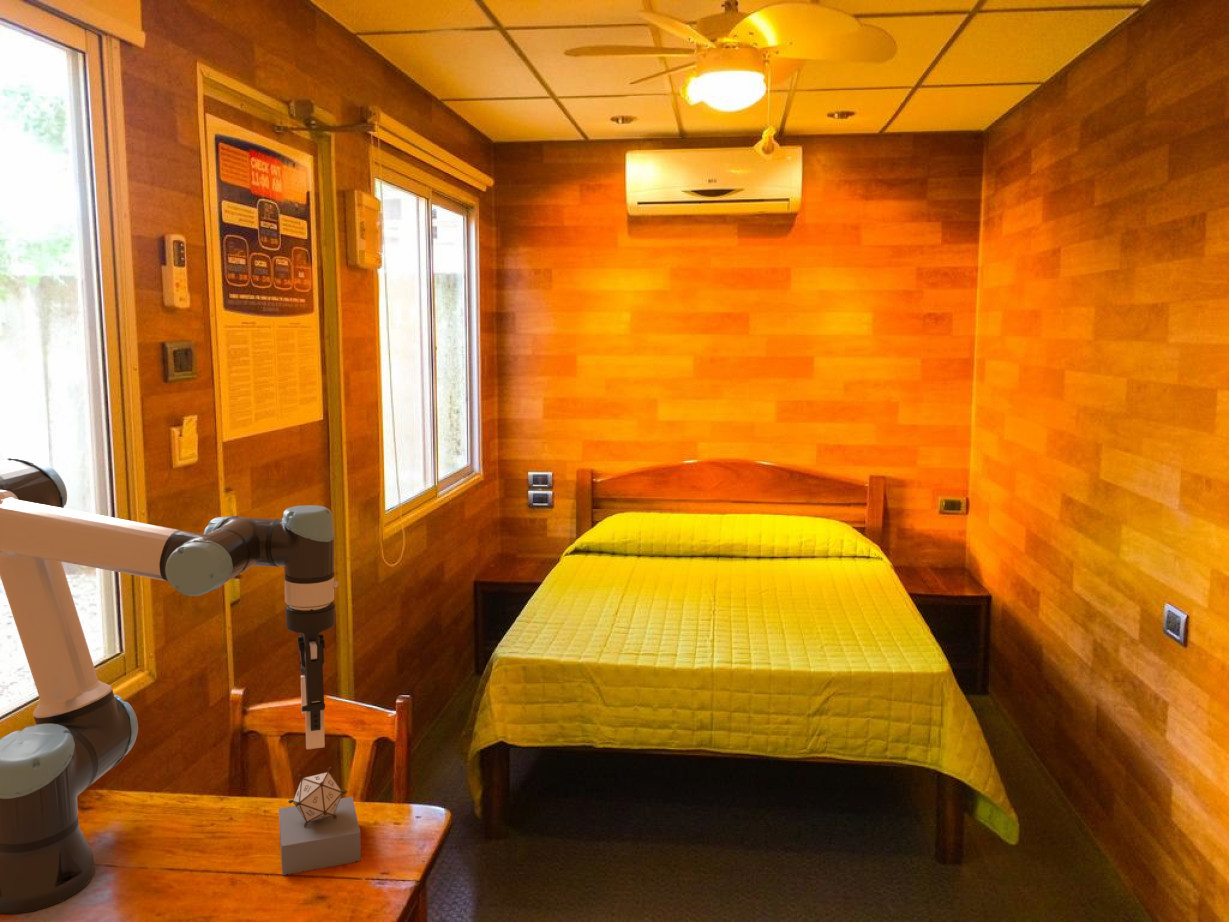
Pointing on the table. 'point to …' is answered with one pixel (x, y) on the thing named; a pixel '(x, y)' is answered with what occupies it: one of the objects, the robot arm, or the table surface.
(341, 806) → the gray block
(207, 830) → the table surface
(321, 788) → the game die
